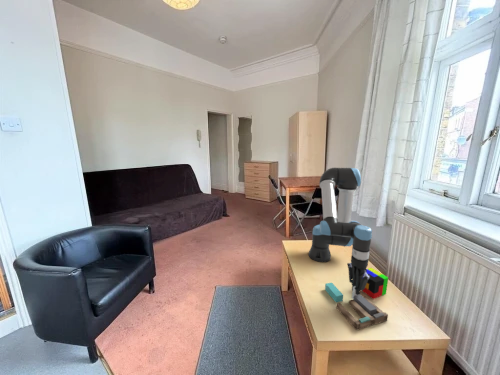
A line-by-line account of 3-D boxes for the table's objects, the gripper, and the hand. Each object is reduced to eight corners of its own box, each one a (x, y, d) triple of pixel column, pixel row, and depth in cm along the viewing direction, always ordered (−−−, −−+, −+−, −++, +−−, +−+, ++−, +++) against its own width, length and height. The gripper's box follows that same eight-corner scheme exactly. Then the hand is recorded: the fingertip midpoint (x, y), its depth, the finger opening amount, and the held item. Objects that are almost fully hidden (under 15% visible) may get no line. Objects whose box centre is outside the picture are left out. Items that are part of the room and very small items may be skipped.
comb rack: (336, 308, 103) (336, 301, 102) (364, 300, 108) (365, 294, 107) (356, 330, 90) (357, 323, 90) (387, 320, 95) (388, 313, 95)
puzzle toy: (356, 287, 118) (358, 271, 116) (369, 282, 122) (371, 267, 120) (373, 299, 109) (375, 282, 107) (385, 293, 113) (388, 277, 111)
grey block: (353, 302, 107) (353, 295, 106) (359, 301, 108) (360, 294, 107) (369, 317, 97) (370, 310, 96) (375, 315, 98) (376, 308, 98)
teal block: (324, 289, 116) (325, 283, 115) (331, 288, 117) (331, 282, 116) (335, 302, 106) (336, 296, 106) (342, 301, 107) (343, 295, 106)
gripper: (344, 251, 108) (340, 291, 112) (364, 265, 95) (359, 309, 100) (355, 249, 110) (351, 288, 115) (377, 262, 98) (371, 305, 102)
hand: (355, 298), depth 107 cm, fingers closed
